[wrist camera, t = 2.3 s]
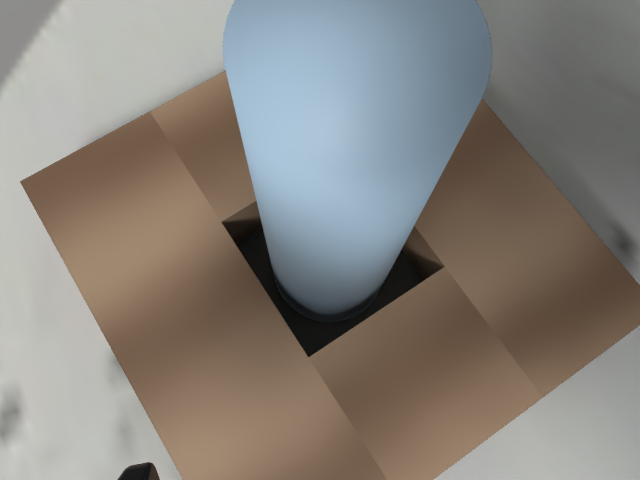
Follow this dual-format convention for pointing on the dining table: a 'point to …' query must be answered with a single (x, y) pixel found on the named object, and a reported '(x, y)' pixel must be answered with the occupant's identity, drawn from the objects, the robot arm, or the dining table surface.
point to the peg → (349, 130)
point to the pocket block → (356, 344)
